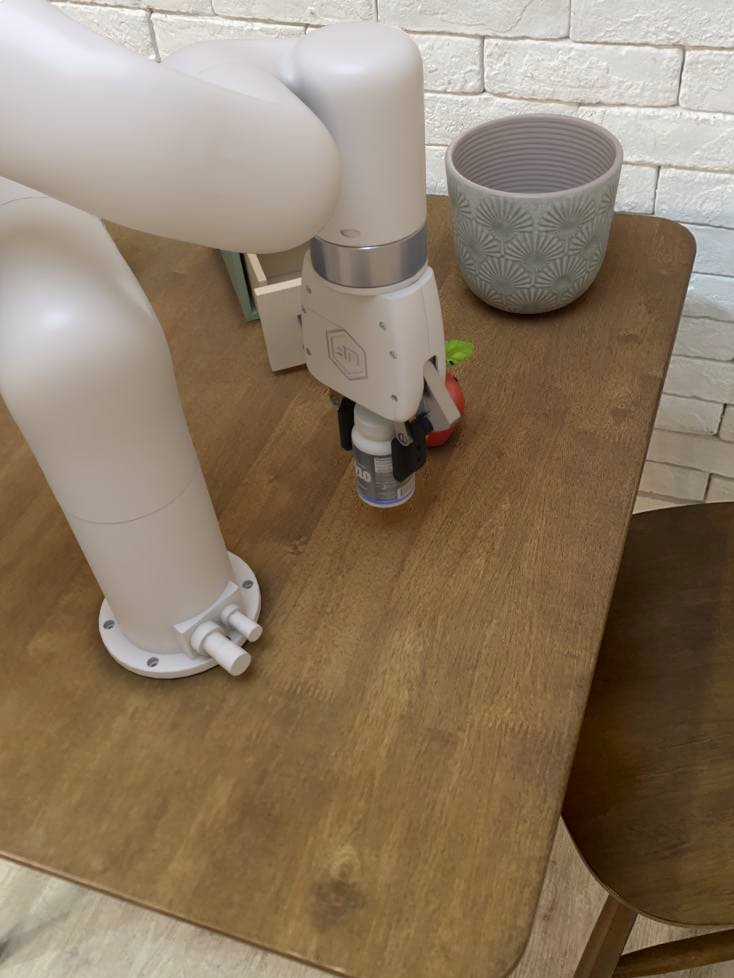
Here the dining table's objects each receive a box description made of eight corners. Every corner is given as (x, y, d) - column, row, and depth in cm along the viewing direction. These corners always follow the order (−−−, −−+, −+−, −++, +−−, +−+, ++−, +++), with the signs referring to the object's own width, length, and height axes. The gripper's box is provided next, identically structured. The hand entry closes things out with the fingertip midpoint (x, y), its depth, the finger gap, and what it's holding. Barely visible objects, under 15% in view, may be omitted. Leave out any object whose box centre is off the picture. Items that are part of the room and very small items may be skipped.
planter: (606, 340, 94) (623, 198, 83) (439, 333, 97) (433, 194, 85) (609, 248, 105) (624, 112, 94) (459, 244, 108) (455, 111, 96)
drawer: (416, 367, 92) (411, 289, 85) (284, 401, 89) (268, 324, 83) (358, 262, 105) (349, 188, 98) (241, 289, 103) (224, 215, 96)
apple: (418, 473, 83) (411, 384, 76) (377, 432, 87) (366, 344, 80) (487, 437, 86) (487, 348, 78) (444, 399, 90) (441, 311, 82)
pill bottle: (350, 476, 77) (341, 395, 71) (405, 463, 78) (401, 382, 71) (365, 516, 74) (358, 434, 68) (422, 501, 74) (420, 420, 68)
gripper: (235, 225, 62) (274, 434, 75) (431, 318, 54) (435, 534, 67) (316, 182, 65) (339, 389, 79) (511, 263, 57) (499, 478, 71)
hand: (383, 454), depth 73 cm, fingers closed on pill bottle, 4 cm apart
